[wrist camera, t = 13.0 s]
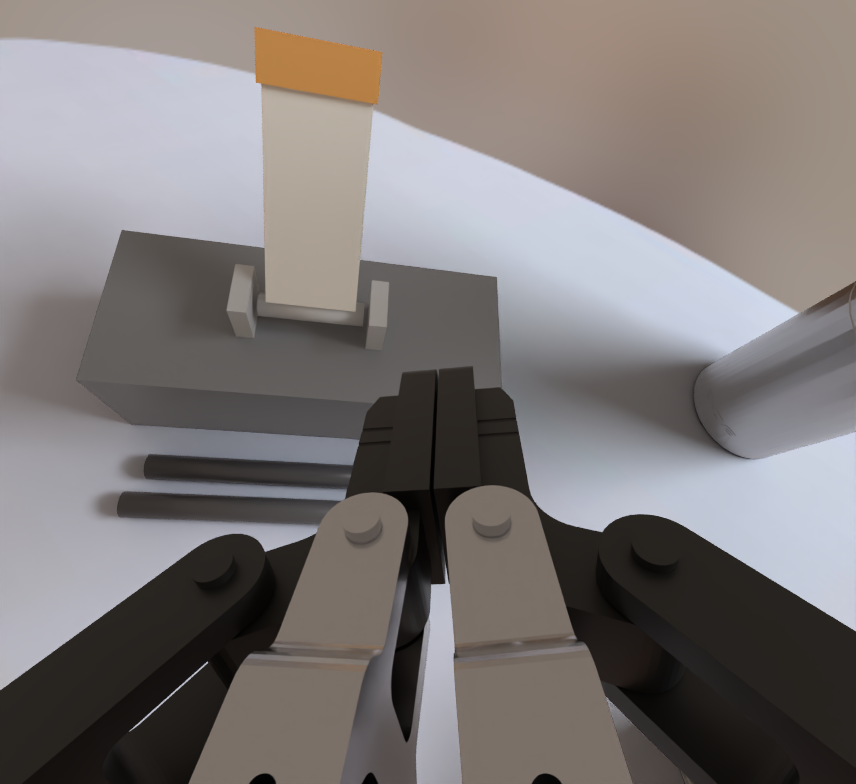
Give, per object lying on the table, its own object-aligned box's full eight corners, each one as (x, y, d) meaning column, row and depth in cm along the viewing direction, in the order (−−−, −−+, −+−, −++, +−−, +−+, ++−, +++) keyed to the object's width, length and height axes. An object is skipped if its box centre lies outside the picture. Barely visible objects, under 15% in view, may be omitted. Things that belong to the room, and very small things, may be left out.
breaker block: (470, 530, 35) (526, 510, 25) (107, 518, 31) (1, 487, 21) (467, 327, 41) (511, 245, 31) (163, 295, 37) (102, 188, 27)
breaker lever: (362, 332, 29) (389, 53, 21) (256, 322, 28) (247, 25, 20) (362, 318, 30) (387, 55, 23) (262, 308, 29) (256, 29, 22)
